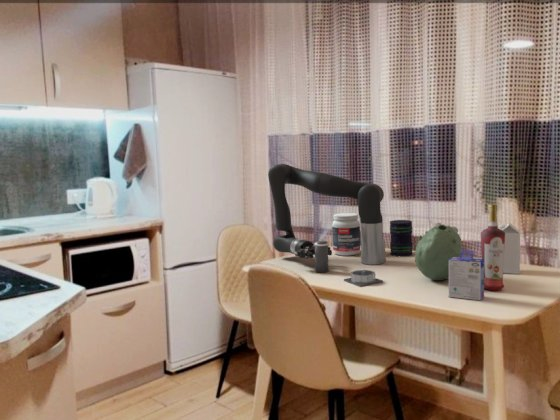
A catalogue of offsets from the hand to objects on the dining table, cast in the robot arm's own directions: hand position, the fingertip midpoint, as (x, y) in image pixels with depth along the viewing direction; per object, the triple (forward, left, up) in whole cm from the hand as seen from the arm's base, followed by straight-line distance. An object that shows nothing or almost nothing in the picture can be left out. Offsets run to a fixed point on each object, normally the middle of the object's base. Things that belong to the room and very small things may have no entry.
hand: (321, 254), depth 193 cm
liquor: (-32, +55, -7) cm, 64 cm away
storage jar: (-45, -5, -7) cm, 46 cm away
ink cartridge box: (-19, +56, -7) cm, 59 cm away
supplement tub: (-27, -22, -7) cm, 36 cm away
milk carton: (-55, +43, -7) cm, 70 cm away
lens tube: (0, 0, -7) cm, 7 cm away
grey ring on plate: (-4, +22, -7) cm, 23 cm away
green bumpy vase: (-27, +36, -7) cm, 45 cm away
